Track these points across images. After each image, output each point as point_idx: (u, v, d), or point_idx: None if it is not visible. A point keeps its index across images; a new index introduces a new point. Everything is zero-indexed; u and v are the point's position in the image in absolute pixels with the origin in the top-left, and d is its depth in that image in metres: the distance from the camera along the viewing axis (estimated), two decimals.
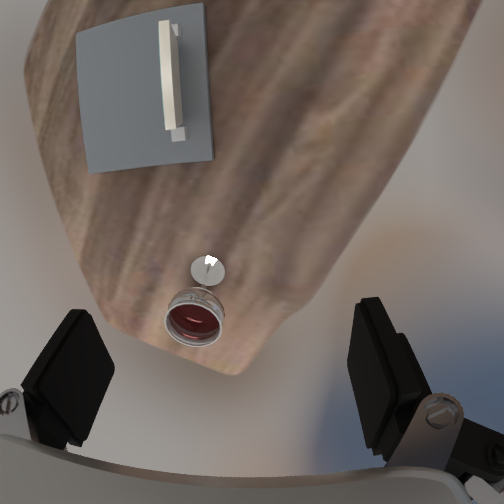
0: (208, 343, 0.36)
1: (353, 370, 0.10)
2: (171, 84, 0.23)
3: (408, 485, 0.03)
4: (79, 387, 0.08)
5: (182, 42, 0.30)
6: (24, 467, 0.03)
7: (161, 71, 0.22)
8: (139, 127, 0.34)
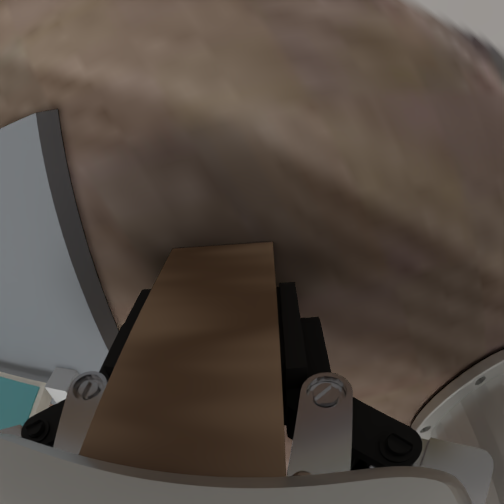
0: None
1: None
2: None
3: (408, 485, 0.03)
4: None
5: None
6: (24, 467, 0.03)
7: None
8: None
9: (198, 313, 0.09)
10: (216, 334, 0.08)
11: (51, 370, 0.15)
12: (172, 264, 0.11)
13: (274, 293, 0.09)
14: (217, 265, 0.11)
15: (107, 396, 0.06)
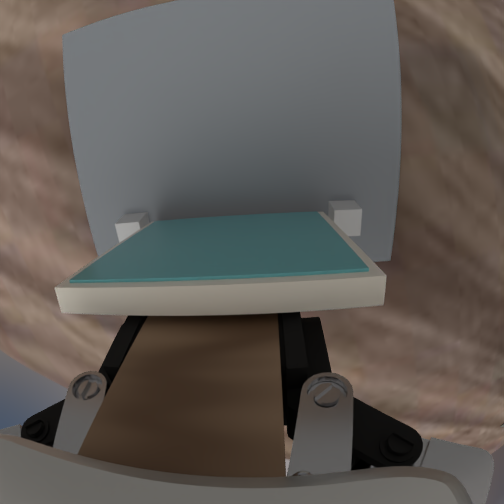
0: None
1: None
2: (169, 312, 0.09)
3: (408, 485, 0.03)
4: None
5: None
6: (24, 467, 0.03)
7: (212, 284, 0.08)
8: (145, 139, 0.17)
9: (200, 326, 0.09)
10: (218, 345, 0.08)
11: (318, 208, 0.18)
12: None
13: None
14: None
15: (108, 400, 0.06)
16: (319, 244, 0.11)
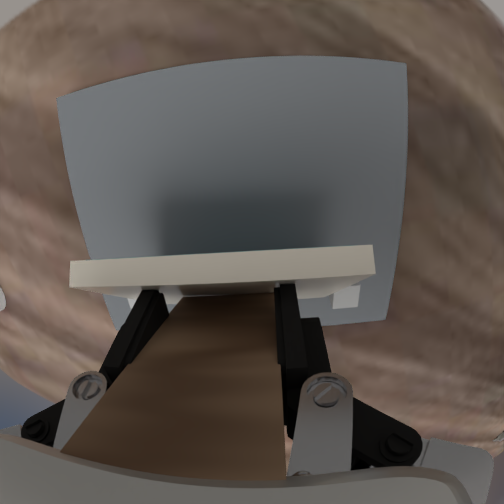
0: None
1: None
2: (173, 282, 0.09)
3: (408, 485, 0.03)
4: None
5: None
6: (24, 467, 0.03)
7: (216, 255, 0.10)
8: (150, 215, 0.18)
9: (205, 337, 0.09)
10: (221, 350, 0.08)
11: None
12: (182, 306, 0.12)
13: None
14: (224, 307, 0.12)
15: (112, 390, 0.06)
16: None
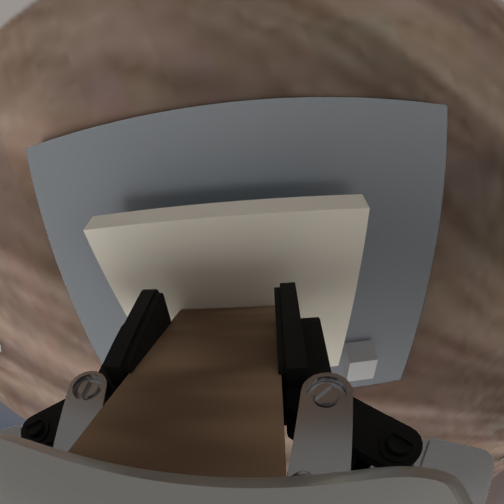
0: None
1: None
2: (183, 218, 0.10)
3: (408, 485, 0.03)
4: None
5: None
6: (24, 467, 0.03)
7: None
8: None
9: (203, 354, 0.09)
10: (219, 369, 0.08)
11: None
12: (180, 319, 0.12)
13: None
14: (223, 321, 0.11)
15: (105, 411, 0.06)
16: None
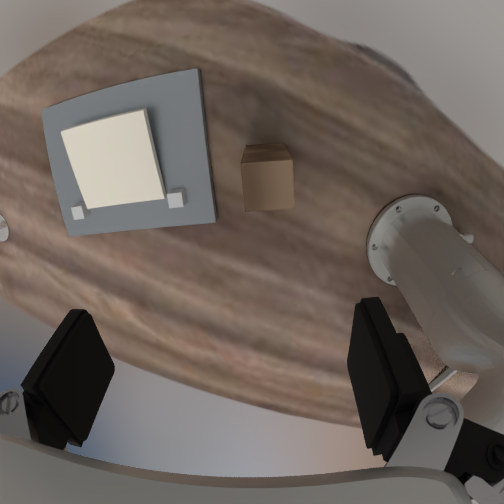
0: None
1: (353, 370, 0.10)
2: (90, 122, 0.27)
3: (408, 485, 0.03)
4: (79, 387, 0.08)
5: (168, 204, 0.34)
6: (24, 467, 0.03)
7: None
8: None
9: (263, 150, 0.29)
10: (270, 151, 0.28)
11: None
12: (248, 146, 0.31)
13: (285, 147, 0.29)
14: (265, 146, 0.31)
15: (244, 157, 0.26)
16: None
